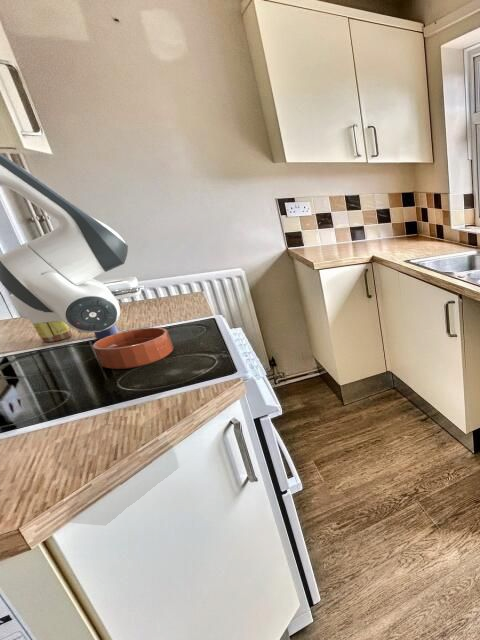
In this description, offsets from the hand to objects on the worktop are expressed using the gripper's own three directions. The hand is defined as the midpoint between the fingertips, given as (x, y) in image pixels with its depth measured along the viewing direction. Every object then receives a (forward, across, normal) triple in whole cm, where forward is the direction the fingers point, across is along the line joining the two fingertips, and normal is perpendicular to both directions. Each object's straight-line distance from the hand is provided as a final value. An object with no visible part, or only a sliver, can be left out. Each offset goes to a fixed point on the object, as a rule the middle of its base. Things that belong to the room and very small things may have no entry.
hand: (78, 288), depth 97 cm
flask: (+23, -2, +19) cm, 30 cm away
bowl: (-2, -5, +19) cm, 20 cm away
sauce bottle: (+33, +8, +19) cm, 39 cm away
